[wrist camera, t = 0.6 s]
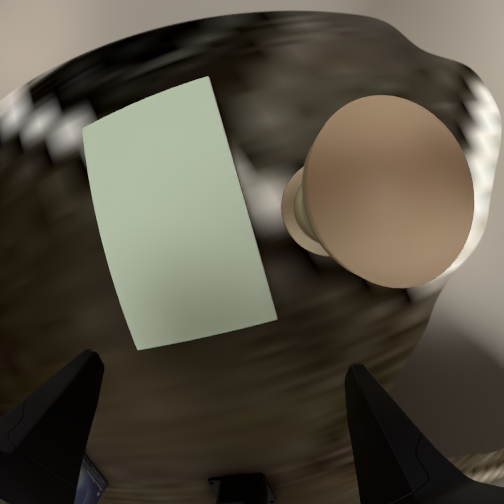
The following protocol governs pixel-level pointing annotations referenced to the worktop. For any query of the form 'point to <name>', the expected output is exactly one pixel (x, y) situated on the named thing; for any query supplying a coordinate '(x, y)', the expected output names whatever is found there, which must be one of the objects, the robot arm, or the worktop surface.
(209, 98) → the board
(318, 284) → the worktop surface
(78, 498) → the small box
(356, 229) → the tan turned knob
